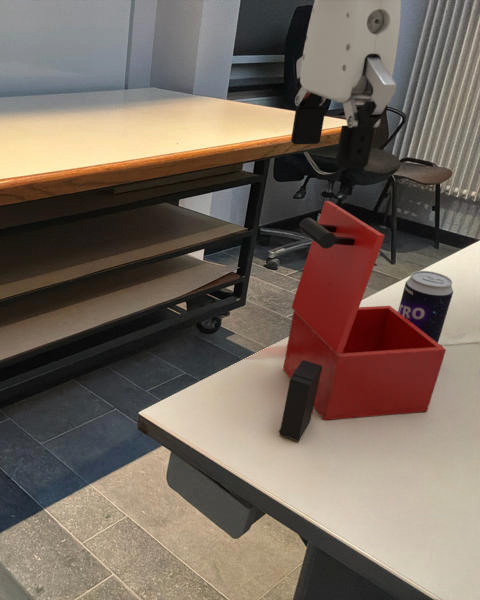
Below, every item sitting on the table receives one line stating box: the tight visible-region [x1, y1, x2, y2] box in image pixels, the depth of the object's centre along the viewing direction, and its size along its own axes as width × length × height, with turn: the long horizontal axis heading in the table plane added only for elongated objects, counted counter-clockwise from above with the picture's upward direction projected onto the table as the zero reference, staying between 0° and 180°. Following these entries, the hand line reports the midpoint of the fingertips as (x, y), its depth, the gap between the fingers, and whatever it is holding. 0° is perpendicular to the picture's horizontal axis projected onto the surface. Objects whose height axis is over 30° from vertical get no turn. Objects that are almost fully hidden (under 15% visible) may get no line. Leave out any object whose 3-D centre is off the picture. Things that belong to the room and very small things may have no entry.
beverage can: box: [397, 270, 454, 344], centre depth 90 cm, size 6×6×12 cm
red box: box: [282, 305, 446, 421], centre depth 84 cm, size 13×11×9 cm
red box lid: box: [291, 200, 386, 353], centre depth 77 cm, size 14×11×5 cm
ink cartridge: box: [278, 360, 322, 442], centre depth 76 cm, size 5×2×8 cm, turn 147°
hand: (326, 154), depth 71 cm, fingers open, 9 cm apart
